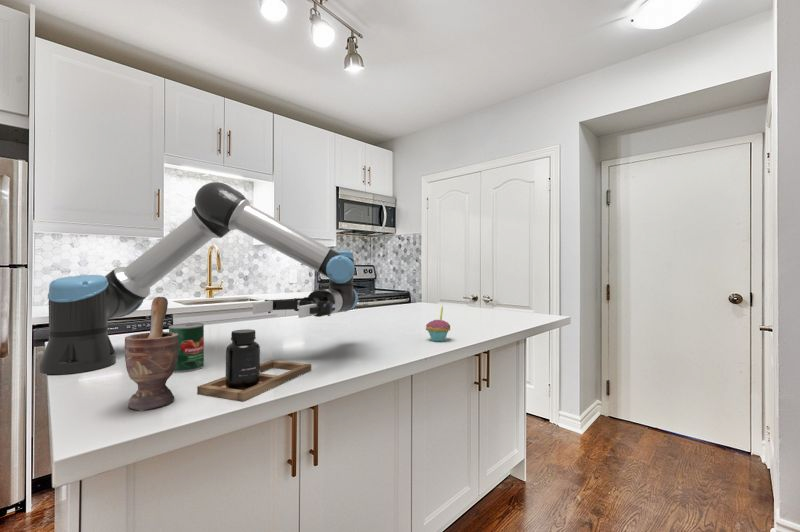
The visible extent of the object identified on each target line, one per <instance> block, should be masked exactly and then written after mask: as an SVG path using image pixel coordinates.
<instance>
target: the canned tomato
mask: <svg viewBox="0 0 800 532" xmlns="http://www.w3.org/2000/svg"><path fill="white" fill-rule="evenodd" d="M204 325H205V324H204V323H202V322H185V323H184V322H183V323H176V324H171V325H169V326H168V332H172V333H177V334H178V336H179V337H178V358H177V363H176V366H175V370H174V372H173V373H188V372H193V371H194V372H195V371H197V370H200V369H203V368H204V367H205V362H204V361H205V354H204V353H205V352H204V351H205V345H204V344H205V337H204V334H205V330H204V329H205V326H204Z"/></svg>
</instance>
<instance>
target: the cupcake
mask: <svg viewBox="0 0 800 532" xmlns="http://www.w3.org/2000/svg"><path fill="white" fill-rule="evenodd" d="M443 311H444V305H441V308H440V315H439V319H434V320H431V321H429V322H428V323H427V324H426V325H425V330H426V331H427V332H428V334H429V336H430V340H431V341H432V342H438V341H440V342H445V341H446V338H447V335H448V333H449V331H451V324H449V322H447V321H445V320H443Z"/></svg>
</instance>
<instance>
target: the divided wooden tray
mask: <svg viewBox="0 0 800 532" xmlns="http://www.w3.org/2000/svg"><path fill="white" fill-rule="evenodd" d="M273 368H274V369H279V368H280V370H281V369H282V370H288V371H286V372H283V373H281V374H279V375H277V374H269V373H263V372H266V371H269V370H271V369H273ZM265 370H266V371H265ZM310 370H311V371H312V364H311V363H303V362H302V363H301V362H294V361H292V362H291V361H285V360H276V359H274V360H273V359H271V360H268V361H266V362H263V363H260V372H261V373H260V381H259V384H257V385H255V386H252V387H250V388H247V389H245V390H237V389H231V388H226V386H225V376H223V377H221V378H218V379H215V380H213V381H208V382H207V383H203V384H201V385H197V387H196V388H197V390H196V393H197V395H202V396H209V397H214V398H221V399H227V400H232V399H233V401H238V402H245V401H247V400H249V399H253V398H254V397H256V396H259V395H260V393H261V394H262V392H263V393H265V392H267V391H269V390H271V389H270V388H272V389H273V387H274V388H276V387H278V386H280V385H282V384H284V382H285V383H287V382H289V381H291V380H293V379H295V377H296V378H298V377H300V376H302V375H304V374H306V373H308V371H309V372H311V371H310ZM301 374H302V375H301ZM299 375H300V376H299ZM297 376H298V377H297ZM288 380H289V381H288ZM286 381H287V382H286ZM277 385H278V386H277ZM275 386H276V387H275ZM268 389H269V390H268ZM266 390H267V391H266ZM264 391H265V392H264Z"/></svg>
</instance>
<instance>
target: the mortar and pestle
mask: <svg viewBox="0 0 800 532" xmlns="http://www.w3.org/2000/svg"><path fill="white" fill-rule="evenodd" d="M168 305H169V302H168V299H167V297H164V296H156V297H154V298H153V299H152V301H151V306H150V307H151V308H150V329H149V332H143V333H136V334H131V335H128V336H127V335H126V336H125V337H124V351H125V352H124V360H125V361H124V362H125V369H126V371H127V375H128V377H129V378H130V380H131V381H133V382H134V383H135V384H136V385H137V391H136V392H135V393H134V394H132V395H131V397H130V398H129V400H128V408H129V409H132V410H135V411H140V412H143V411H147V410H151V409H155V408H159V407H163V406H166V405H169V404H171V403H173V402H174V401H175V396H174V394H173V392H172V391H171V389H170V388H169V387H168V386H167V385H166V384H167V382H168V379H170V377H172V376H173V374H174V373H175V372H174V370H175V366H176V363H177V358H178V337H179V336H178V334H177V333H172V332H169V331H163V330H164V329H163V327H164V323H165V318H166V315H167V312H168V311H167V310H168V308H169V307H168Z"/></svg>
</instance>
